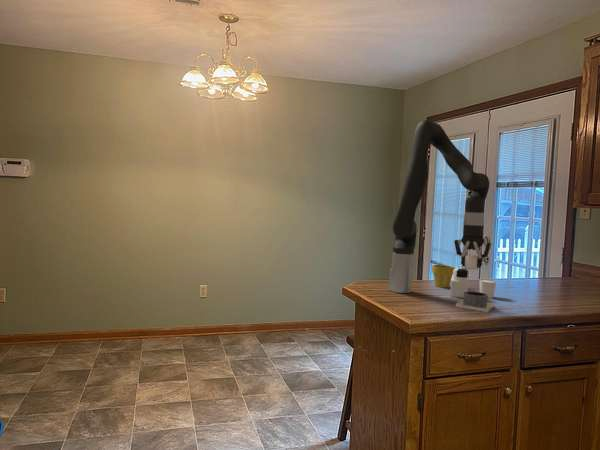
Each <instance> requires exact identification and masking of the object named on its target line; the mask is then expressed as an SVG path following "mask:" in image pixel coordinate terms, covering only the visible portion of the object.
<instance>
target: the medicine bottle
mask: <svg viewBox="0 0 600 450" xmlns="http://www.w3.org/2000/svg"><path fill="white" fill-rule="evenodd" d="M468 274H469V271H468V269H466V268H456V267H455V268H454V270H453V275H452V278H451V282H450V290H449V291H450V294H449V295H450V297H451V298H459V299H461V298H462V299H464V292H467V291H469V286H470V285H469V283H470V282H469V279H468V276H469V275H468Z"/></svg>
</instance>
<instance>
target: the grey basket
mask: <svg viewBox="0 0 600 450" xmlns="http://www.w3.org/2000/svg"><path fill="white" fill-rule="evenodd" d="M488 299H489V298H488V295H487V294H485V293H481V292H480V291H474V290H473V291H472V290H468V291H467V292H464V298H462V299H461V300H459V301H457V302H456V303H455V307H456V308H461V309H465V310H472V311H477V312H482V313H484V312H485V313H489V312H490V311H491V310H492V309H493V308H494V307H495V303H492V302H488Z"/></svg>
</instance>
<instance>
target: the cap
mask: <svg viewBox="0 0 600 450" xmlns="http://www.w3.org/2000/svg"><path fill="white" fill-rule="evenodd" d="M477 262H478V255H474V254H473V255H471V254H466V255H465V267H464V266H463V267H464V268H463V269H466V270H478V269H479V268H477Z"/></svg>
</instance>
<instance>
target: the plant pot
mask: <svg viewBox="0 0 600 450" xmlns="http://www.w3.org/2000/svg"><path fill="white" fill-rule="evenodd" d="M454 269H455V267H454V266H451V265H446V264H432V265H431V273H432V275H433V281H434V286H435V287H438V288H450V287H451V279H452V278H453V270H454Z"/></svg>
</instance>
